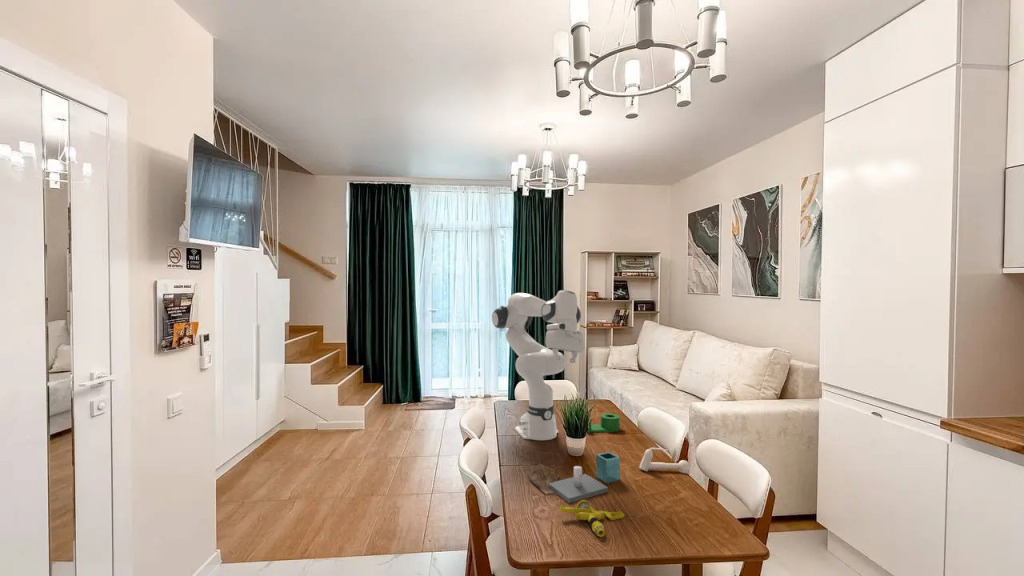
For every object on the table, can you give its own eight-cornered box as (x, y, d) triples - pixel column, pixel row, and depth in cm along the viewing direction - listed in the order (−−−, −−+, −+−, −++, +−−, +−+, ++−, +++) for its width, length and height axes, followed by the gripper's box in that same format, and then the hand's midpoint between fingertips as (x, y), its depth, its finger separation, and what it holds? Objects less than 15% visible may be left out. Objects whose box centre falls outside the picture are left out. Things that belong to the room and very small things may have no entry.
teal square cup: (596, 476, 155) (596, 454, 155) (609, 473, 157) (609, 451, 157) (606, 483, 149) (606, 460, 149) (620, 480, 152) (620, 457, 152)
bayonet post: (548, 487, 146) (548, 465, 146) (585, 478, 153) (585, 457, 153) (569, 503, 135) (569, 479, 135) (607, 491, 143) (607, 469, 143)
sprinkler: (574, 525, 115) (557, 497, 129) (572, 540, 115) (555, 510, 129) (639, 527, 118) (616, 499, 133) (637, 541, 118) (614, 512, 133)
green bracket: (615, 425, 213) (615, 413, 214) (622, 431, 205) (622, 418, 205) (580, 427, 211) (580, 414, 212) (586, 433, 202) (586, 419, 203)
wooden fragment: (563, 496, 140) (563, 492, 140) (530, 496, 141) (530, 492, 141) (556, 464, 166) (556, 462, 166) (528, 464, 166) (528, 462, 166)
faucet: (686, 486, 157) (695, 461, 157) (640, 469, 158) (649, 444, 158) (682, 481, 161) (691, 457, 161) (638, 465, 162) (646, 440, 162)
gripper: (576, 332, 185) (575, 364, 182) (543, 325, 173) (542, 359, 169) (588, 331, 181) (587, 364, 177) (554, 323, 168) (553, 358, 164)
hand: (565, 361), depth 173 cm, fingers open, 8 cm apart
